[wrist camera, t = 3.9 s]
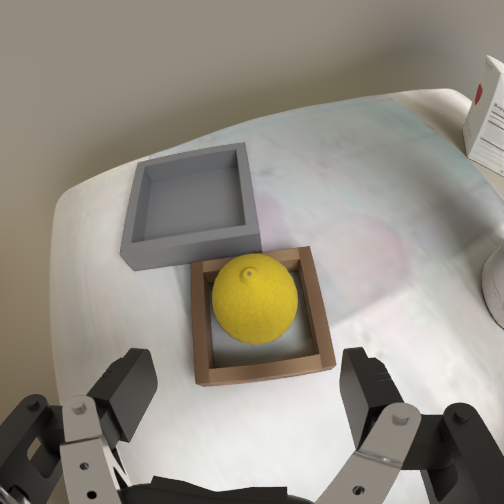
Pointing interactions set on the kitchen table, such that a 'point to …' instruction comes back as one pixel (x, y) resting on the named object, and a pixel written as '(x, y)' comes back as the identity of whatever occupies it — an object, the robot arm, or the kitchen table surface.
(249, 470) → the kitchen table surface
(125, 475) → the robot arm
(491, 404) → the kitchen table surface
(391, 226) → the kitchen table surface
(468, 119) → the supplement box
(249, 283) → the lemon
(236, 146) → the charcoal tray
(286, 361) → the wooden square frame
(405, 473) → the kitchen table surface
